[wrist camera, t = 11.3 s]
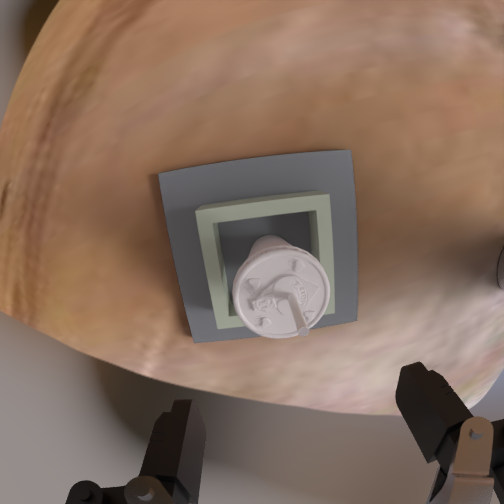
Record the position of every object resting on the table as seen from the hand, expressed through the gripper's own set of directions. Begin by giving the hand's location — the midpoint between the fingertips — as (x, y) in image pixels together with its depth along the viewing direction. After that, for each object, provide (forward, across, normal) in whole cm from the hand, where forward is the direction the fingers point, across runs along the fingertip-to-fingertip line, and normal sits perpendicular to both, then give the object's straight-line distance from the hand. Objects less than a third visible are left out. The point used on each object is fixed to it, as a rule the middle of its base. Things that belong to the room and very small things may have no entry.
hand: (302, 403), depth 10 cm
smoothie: (+19, 0, 0) cm, 19 cm away
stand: (+20, 0, 0) cm, 20 cm away
